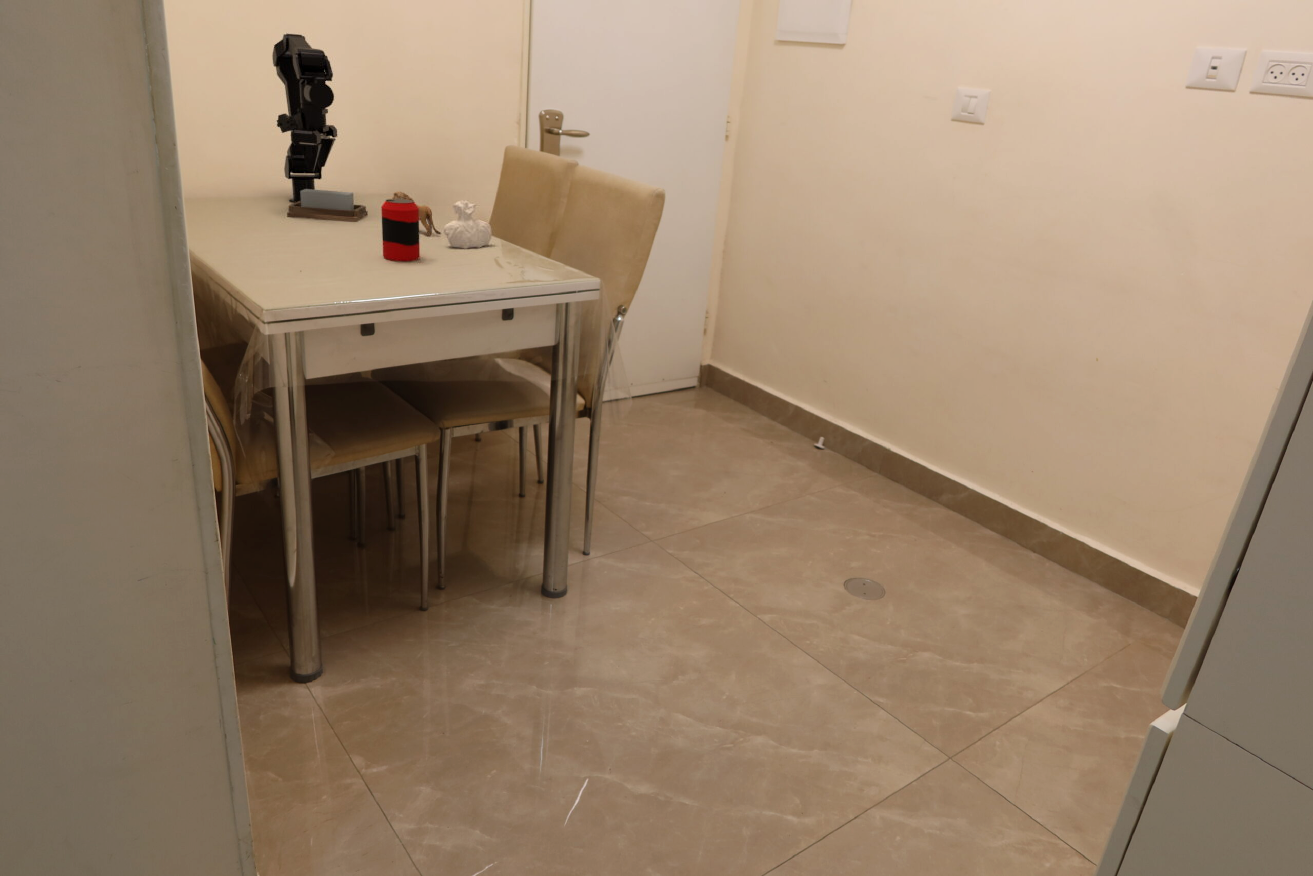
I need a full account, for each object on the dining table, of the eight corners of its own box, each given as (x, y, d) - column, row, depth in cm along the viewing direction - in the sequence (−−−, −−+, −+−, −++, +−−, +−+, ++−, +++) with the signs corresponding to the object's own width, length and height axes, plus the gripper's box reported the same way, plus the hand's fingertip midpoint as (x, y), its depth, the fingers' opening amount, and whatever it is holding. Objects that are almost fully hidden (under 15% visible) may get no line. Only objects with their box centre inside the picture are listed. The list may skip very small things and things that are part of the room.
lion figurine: (386, 228, 223) (385, 191, 219) (401, 226, 227) (400, 189, 224) (434, 237, 217) (433, 199, 214) (448, 235, 222) (448, 197, 218)
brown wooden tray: (301, 209, 237) (300, 200, 236) (367, 214, 238) (367, 205, 237) (287, 216, 226) (286, 206, 225) (356, 221, 228) (355, 211, 227)
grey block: (306, 208, 233) (305, 188, 231) (354, 212, 234) (353, 192, 232) (301, 211, 229) (300, 191, 228) (349, 214, 230) (348, 194, 228)
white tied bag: (488, 253, 216) (474, 210, 217) (502, 238, 210) (487, 194, 212) (443, 256, 209) (428, 212, 210) (455, 241, 203) (440, 196, 204)
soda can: (381, 254, 196) (379, 197, 191) (416, 254, 199) (415, 198, 194) (385, 261, 190) (383, 203, 185) (422, 261, 192) (421, 204, 188)
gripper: (291, 98, 232) (296, 161, 238) (266, 103, 215) (271, 171, 221) (336, 102, 233) (339, 165, 239) (314, 107, 216) (318, 175, 222)
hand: (316, 169), depth 230 cm, fingers open, 9 cm apart
